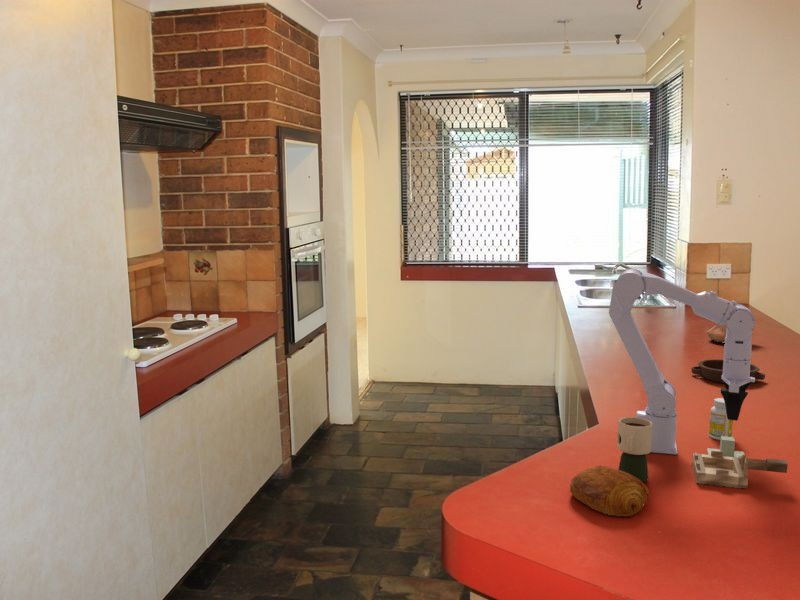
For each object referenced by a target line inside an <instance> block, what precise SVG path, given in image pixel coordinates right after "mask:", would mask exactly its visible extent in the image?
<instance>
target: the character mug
mask: <svg viewBox="0 0 800 600" xmlns="http://www.w3.org/2000/svg"><path fill="white" fill-rule="evenodd" d="M652 429H653V423H652V422H651V421H650V420H647V419H644V418H638V417H636V416H625V417H621V418H619V419H618V422H617V441H616V446H617V449H618V450H620V451H621V452H622V453H621V456H620V460H619V463H618V469H617V470H621V471H624V472H627V473H629V474H631V475H633V476H635V477H636V478H638V479H640V481H642V482H646V481H648V479H649V468H648V459H647V456H646V455H647V454H650V453H652V452H651V447H652Z"/></svg>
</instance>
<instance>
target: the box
mask: <svg viewBox="0 0 800 600" xmlns="http://www.w3.org/2000/svg"><path fill="white" fill-rule="evenodd" d="M746 458H747V457H746V454H744V455H742V456H739V458H736V457H726V456H723V451H712V450H711V455H708V454H706V453H705V454H704V453H699V452H693V453H692V461H691V462H692V464H691V465H692V469H693V474H695V475H694V479H696V480H695V484H696V483H699V484H698V485H704V484H709V485H708V486H713V485H717V486H716V487H723V486H725V488H732V487H734V488H733V489H741V488H745V489H744V490H748V486H749V476H748V474H749V473H748V471H749V469H748V462H747V461H745V459H746Z"/></svg>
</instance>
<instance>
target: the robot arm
mask: <svg viewBox="0 0 800 600" xmlns="http://www.w3.org/2000/svg"><path fill="white" fill-rule="evenodd" d="M619 274H620V275H619V276H618V278H617V279H616V282H615V284H613V286H612V289H611V297H610V302H609V303H610V304H609V308H608V314H609V315H608V316H609V317H610V319H611V322H612V324H613V325H614V327H615V329H616V331H617V334H618V335H619V337H620V340H621V341H622V343H623V345H624V347H625V350H626V352H627V354H628V355H629V357H630V359H631V361H632V363H633V367H634V368H635V370H636V372H637V374H638V376H639V378H640V380H641V383H642V386H643V389H644V392H645V394H646V398H647V406H646V407H645V409H644V410H636V416H635V417H638V418H644V419H647V420H650V421H651V422H652V423H653V429H652V447H651V452H650V453H655V454H665V455H666V454H667V455H678V448H677V447H678V446H677V443H676V438H677V437H676V435H677V419H678V418H677V417H678V411H677V410H676V404H677V400H676V389H675V387H674V386H673V385H672V384H671V383H670V382H668V380H666V378H665V376H664V374H663V373H662V372H661V370H660V369H659V367H658V364H657V362H656V360H655V358H654V356H653V355H652V353H651V350H650V348H649V347H648V344H647V342H646V341H645V338H644V337H643V335H642V332H641V330H640V328H639V327H638V324H637V323H636V320H635V319H634V316H633V315H632V308H633V307H634V305H635V302H636V301H637V300H638V299H639V297H641V295H642V294H643V292H645V294H644V296H645V297H646V296H653V295H661V296H663V297H666V298H669V299H671V300H674V301H676V302H679V303H681V304H684V305H687V306H690V307H691V309H692V312H693V314H694V315H696V316H699V317H701V318H703V319H706V320H709V321H711V322H713V323H715V324H717V323H718V324H720V325H727V330H726V337H725V344H723V345H724V347H723V348H724V350H723V360H724V361H723V375H722V380H723V382H724V383H723V384H724V387H725V388H724V387H721V388H720V394H721V396H722V398H724V402H725V406H726V414H727V419H728V420H733V421H738V420H739V417H740V413H741V409H742V405H743V403H744V401H745V399H746V398H747V396H748V395H749V392H747V389H748V387H749V385H750V383H755V382H756V380H755V378H754V377H750V364H752V363H751V362H752V361H751V360H752V346H753V345H752V344H753V339H752V335H753V330H754V329H755V327H756V326H755V325H756V320H755V317H754V315H753V314H754V313H752V311H751V310H750V308H748V307H747V306H745V305H744V304H743V303H742V304H741V303H738V302H737V301H735V300H732V301H730V300H728V299H725V298H722V297H720V296H718V295H717V292H716V291H713V290H710V292H708V291H702V292H700V293H696V292H694V291H691V290H689V289H687V288H685V287H682V286H680V285H678V284H676V283H674V282H671V281H670V280H667V279H665V278H663V277H660V276H658V275H656V274H653V273H650V272H646V271H643V272H642V271H640V270H639V269H636V268H627V269H625V270H623V271H622V272H621V273H619ZM754 320H755V321H754ZM754 326H755V327H754ZM753 328H754V329H753ZM752 329H753V330H752Z"/></svg>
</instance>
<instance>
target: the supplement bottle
mask: <svg viewBox="0 0 800 600" xmlns="http://www.w3.org/2000/svg"><path fill="white" fill-rule="evenodd" d="M713 400H714V401H713V406H712V407H711V408H710V414H709V415H710V416H709V426H708V427H709V428H708V429H709V430H708V436H709V437H710V438H711V439H713V440H718V441H720V439H721V436H727V437H733V428H734V427H733V426H734V425H733V424H734V420H728V419H727V414H726V406H725V402H724V398H723V397H719V398H718V397H717V398H714V399H713Z"/></svg>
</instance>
